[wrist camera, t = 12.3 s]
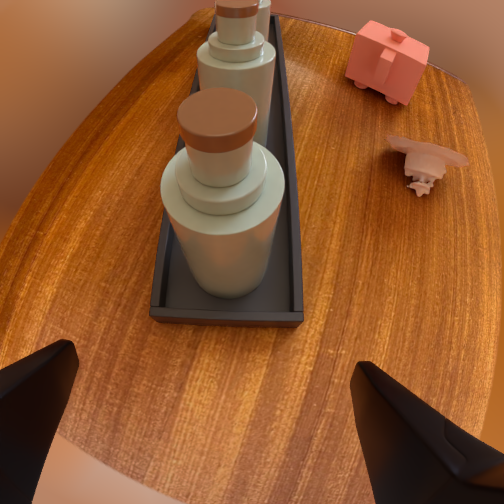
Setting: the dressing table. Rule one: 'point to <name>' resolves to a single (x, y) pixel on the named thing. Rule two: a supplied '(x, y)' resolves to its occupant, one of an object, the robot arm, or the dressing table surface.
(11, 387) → the robot arm
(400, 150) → the pale pink ornate lid
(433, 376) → the dressing table surface
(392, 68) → the pink cube teapot
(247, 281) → the bottle
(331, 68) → the dressing table surface
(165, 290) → the tray
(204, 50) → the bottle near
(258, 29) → the bottle middle
